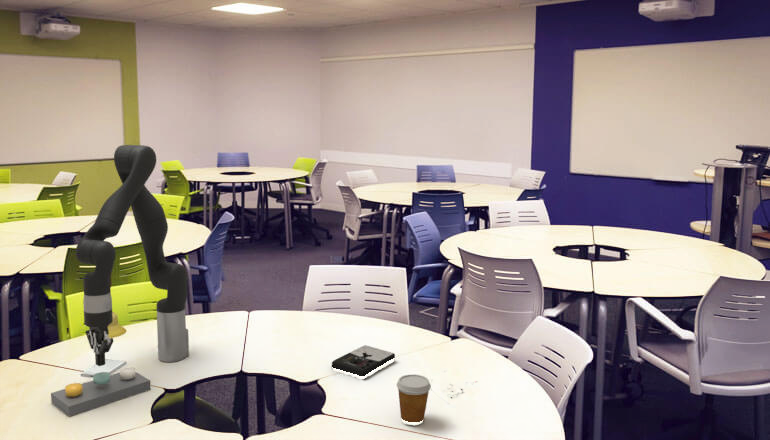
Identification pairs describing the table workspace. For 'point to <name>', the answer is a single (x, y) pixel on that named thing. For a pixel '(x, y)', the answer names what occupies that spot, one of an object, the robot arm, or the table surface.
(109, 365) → the hard drive
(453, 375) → the table surface
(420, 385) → the disposable coffee cup
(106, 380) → the teal button
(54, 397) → the console
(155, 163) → the robot arm
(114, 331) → the handbell
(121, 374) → the offwhite button
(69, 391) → the amber button
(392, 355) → the black and grey book
